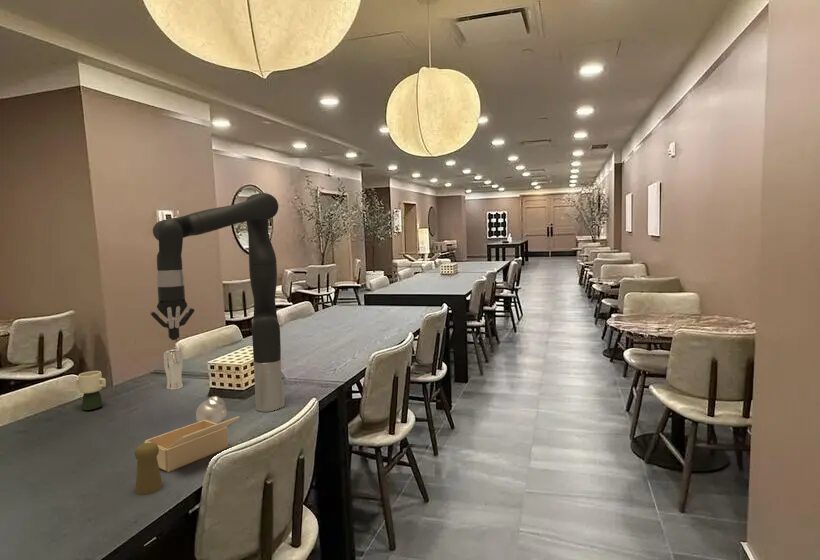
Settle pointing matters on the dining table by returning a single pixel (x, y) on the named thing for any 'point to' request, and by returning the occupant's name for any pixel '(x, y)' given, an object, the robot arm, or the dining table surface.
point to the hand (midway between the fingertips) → (174, 339)
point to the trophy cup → (91, 389)
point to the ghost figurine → (212, 410)
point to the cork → (147, 469)
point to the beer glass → (173, 368)
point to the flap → (203, 432)
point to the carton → (188, 445)
